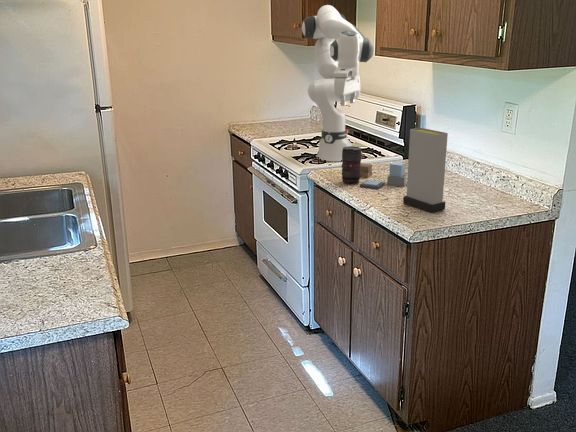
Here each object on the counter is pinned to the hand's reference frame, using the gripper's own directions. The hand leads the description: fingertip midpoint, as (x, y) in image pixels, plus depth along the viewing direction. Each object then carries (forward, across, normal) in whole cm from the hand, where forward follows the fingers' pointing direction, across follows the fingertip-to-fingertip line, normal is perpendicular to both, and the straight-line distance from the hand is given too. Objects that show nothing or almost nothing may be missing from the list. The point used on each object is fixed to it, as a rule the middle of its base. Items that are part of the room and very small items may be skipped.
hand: (347, 104), depth 255 cm
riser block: (+32, +4, +25) cm, 40 cm away
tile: (+31, +12, +17) cm, 37 cm away
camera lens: (+31, +11, +7) cm, 34 cm away
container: (+31, +30, +44) cm, 62 cm away
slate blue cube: (+27, +4, +25) cm, 37 cm away
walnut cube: (+31, -2, +8) cm, 32 cm away
